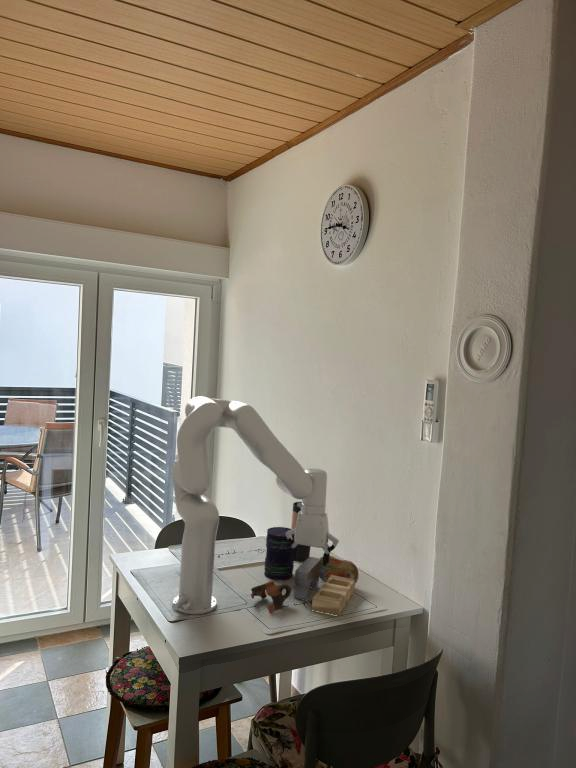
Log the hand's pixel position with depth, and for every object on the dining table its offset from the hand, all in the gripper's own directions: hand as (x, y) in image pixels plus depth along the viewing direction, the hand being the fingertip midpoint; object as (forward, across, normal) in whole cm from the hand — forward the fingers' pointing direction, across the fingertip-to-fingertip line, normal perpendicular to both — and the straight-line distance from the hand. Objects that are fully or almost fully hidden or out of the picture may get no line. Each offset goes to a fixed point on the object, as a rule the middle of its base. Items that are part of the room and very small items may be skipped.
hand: (310, 562), depth 184 cm
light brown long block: (+10, +9, -3) cm, 13 cm away
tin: (+10, +6, +12) cm, 17 cm away
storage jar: (+10, -14, +8) cm, 19 cm away
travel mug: (+10, -13, +27) cm, 32 cm away
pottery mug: (+10, -7, -14) cm, 19 cm away
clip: (+10, -1, -1) cm, 10 cm away
